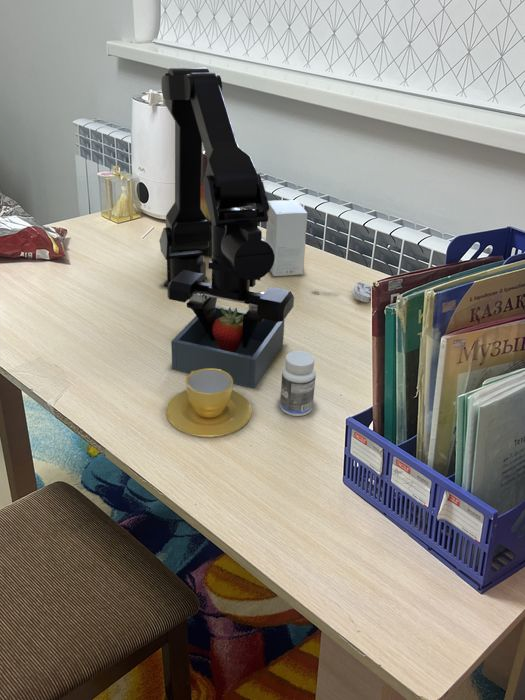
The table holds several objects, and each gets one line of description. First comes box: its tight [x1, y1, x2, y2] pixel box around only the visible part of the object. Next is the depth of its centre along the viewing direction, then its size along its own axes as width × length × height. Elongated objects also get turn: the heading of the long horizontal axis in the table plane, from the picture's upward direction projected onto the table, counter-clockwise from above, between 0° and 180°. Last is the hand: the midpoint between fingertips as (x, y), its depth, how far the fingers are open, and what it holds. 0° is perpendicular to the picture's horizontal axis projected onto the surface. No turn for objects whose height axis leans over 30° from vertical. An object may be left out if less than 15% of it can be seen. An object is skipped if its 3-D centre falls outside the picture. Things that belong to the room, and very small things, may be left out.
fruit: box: [212, 306, 244, 352], centre depth 108 cm, size 5×5×8 cm
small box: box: [265, 199, 309, 277], centre depth 138 cm, size 8×6×13 cm
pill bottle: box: [279, 350, 317, 417], centre depth 97 cm, size 5×5×8 cm
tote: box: [170, 305, 285, 389], centre depth 109 cm, size 14×14×5 cm
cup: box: [165, 368, 253, 437], centre depth 96 cm, size 12×12×5 cm
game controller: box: [315, 281, 372, 303], centre depth 130 cm, size 6×12×3 cm, turn 100°
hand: (229, 343), depth 109 cm, fingers closed on fruit, 5 cm apart
